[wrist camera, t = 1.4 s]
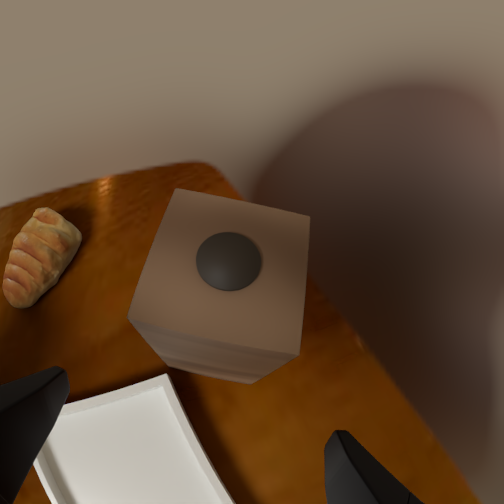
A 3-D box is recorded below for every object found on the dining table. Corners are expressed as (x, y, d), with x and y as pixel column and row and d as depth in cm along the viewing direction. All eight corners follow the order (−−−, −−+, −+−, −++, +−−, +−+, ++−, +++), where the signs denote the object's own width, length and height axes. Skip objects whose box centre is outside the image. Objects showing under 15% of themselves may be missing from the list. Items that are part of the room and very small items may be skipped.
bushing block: (250, 384, 20) (300, 354, 9) (169, 367, 19) (125, 315, 9) (262, 309, 23) (311, 214, 12) (187, 294, 22) (175, 185, 12)
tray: (98, 556, 9) (91, 564, 8) (28, 416, 15) (16, 415, 13) (249, 524, 14) (253, 532, 12) (169, 376, 19) (166, 373, 17)
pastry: (42, 326, 19) (19, 310, 16) (-1, 296, 19) (-23, 278, 16) (90, 237, 24) (76, 212, 21) (44, 219, 24) (29, 195, 21)
